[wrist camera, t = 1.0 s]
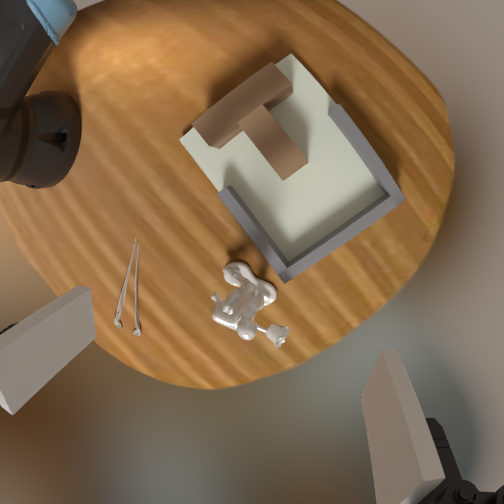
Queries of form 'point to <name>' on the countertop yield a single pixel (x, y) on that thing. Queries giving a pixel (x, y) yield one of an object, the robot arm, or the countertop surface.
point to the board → (301, 179)
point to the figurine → (246, 304)
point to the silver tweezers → (123, 293)
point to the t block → (254, 120)
